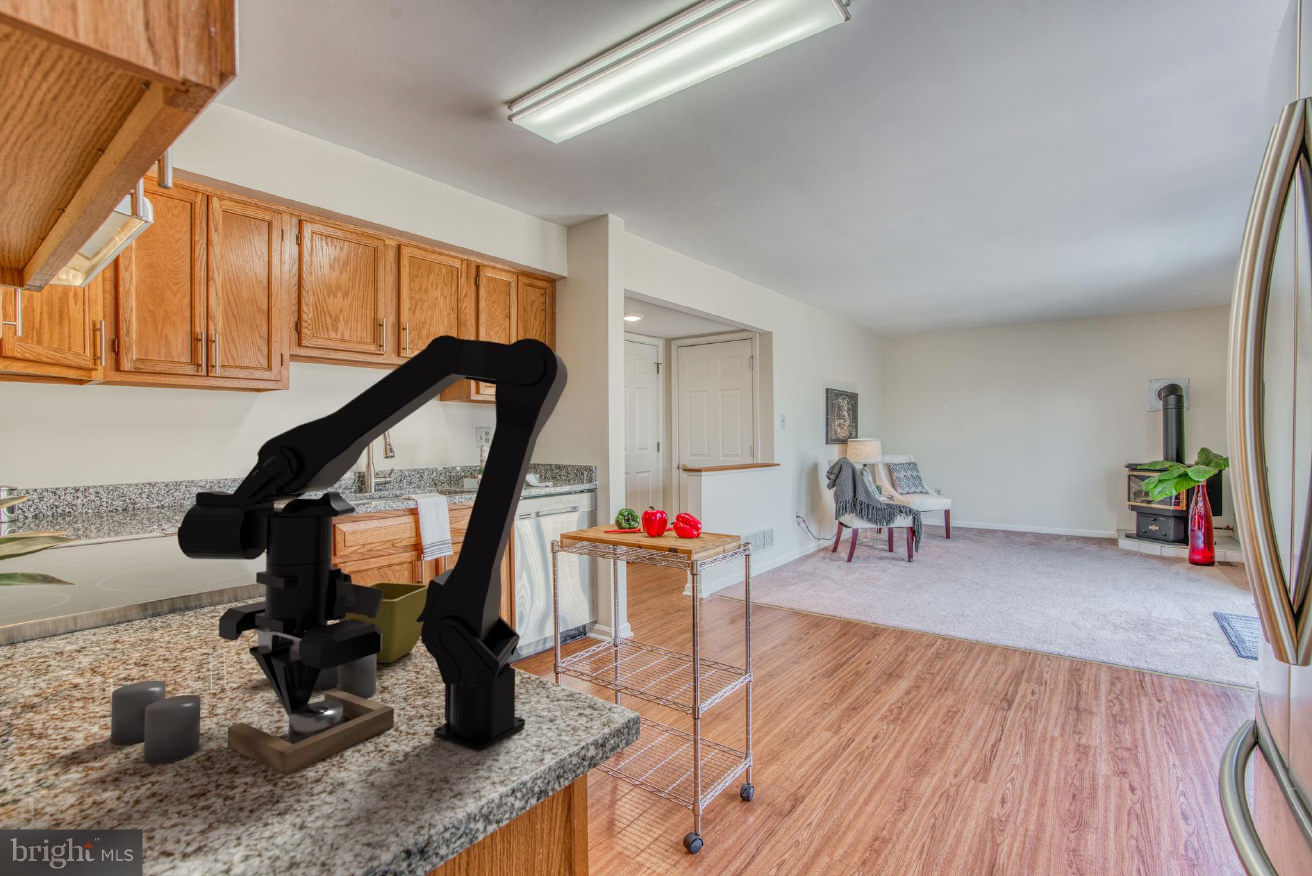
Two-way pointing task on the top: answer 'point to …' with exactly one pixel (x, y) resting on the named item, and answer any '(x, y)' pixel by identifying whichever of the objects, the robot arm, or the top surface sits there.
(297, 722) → the grey metallic short cylinder
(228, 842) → the top surface
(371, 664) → the spacers
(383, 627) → the flower pot
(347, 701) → the corral
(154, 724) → the spacers
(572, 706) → the top surface
